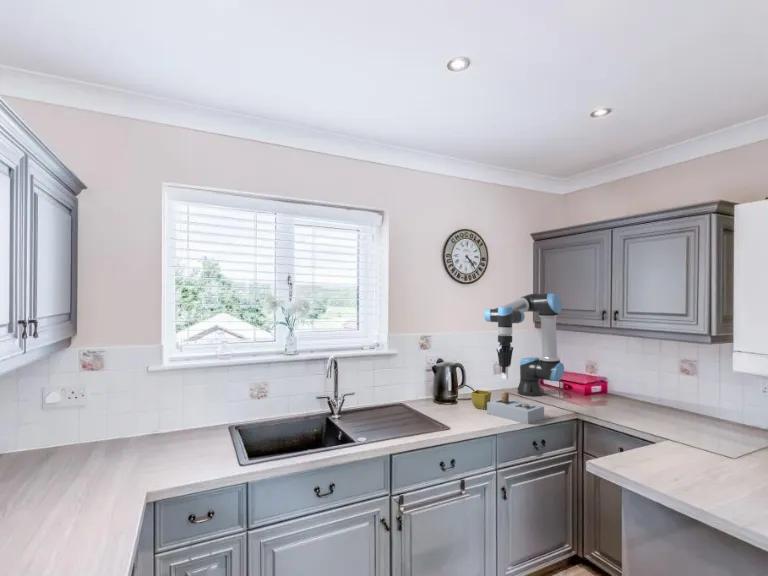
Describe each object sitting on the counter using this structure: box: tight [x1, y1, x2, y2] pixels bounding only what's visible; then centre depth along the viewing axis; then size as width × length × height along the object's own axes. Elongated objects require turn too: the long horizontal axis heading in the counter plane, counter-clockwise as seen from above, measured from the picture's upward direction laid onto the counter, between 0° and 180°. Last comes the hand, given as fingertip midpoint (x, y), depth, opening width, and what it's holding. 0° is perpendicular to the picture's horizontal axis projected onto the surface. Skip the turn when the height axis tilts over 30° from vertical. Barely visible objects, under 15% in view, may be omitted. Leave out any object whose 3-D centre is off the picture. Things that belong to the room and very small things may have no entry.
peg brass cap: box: [501, 390, 510, 404], centre depth 228 cm, size 4×4×6 cm
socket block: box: [486, 397, 545, 425], centre depth 224 cm, size 16×24×6 cm, turn 41°
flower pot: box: [470, 389, 492, 410], centre depth 239 cm, size 9×9×9 cm
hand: (505, 378), depth 228 cm, fingers closed
